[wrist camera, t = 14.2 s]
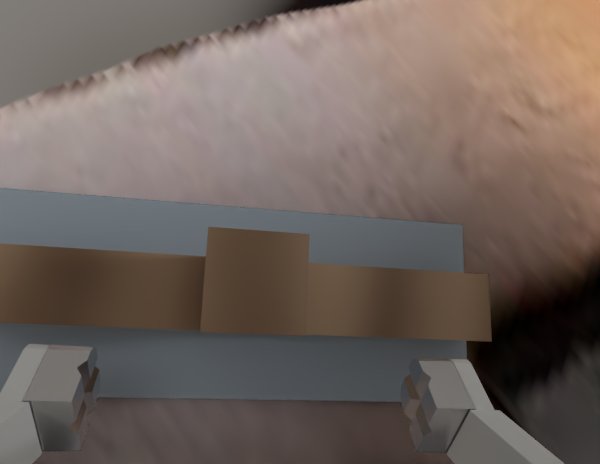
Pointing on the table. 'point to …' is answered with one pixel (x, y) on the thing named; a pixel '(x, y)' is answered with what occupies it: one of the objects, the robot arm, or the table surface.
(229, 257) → the walnut rail
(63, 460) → the table surface
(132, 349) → the slate mat
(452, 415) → the robot arm
